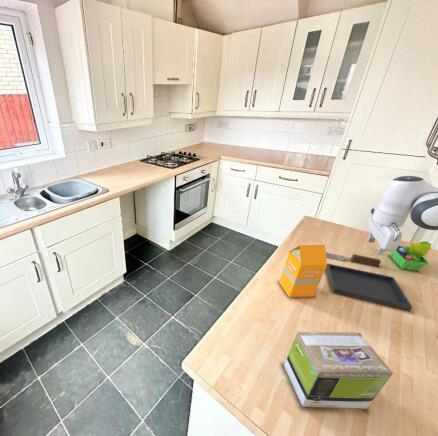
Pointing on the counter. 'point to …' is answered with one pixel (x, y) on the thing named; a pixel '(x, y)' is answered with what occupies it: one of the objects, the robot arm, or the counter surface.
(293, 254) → the orange juice
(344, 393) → the tea box
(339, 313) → the counter surface
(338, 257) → the fork
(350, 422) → the counter surface
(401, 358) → the counter surface
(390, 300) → the tray
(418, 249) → the fruit basket
